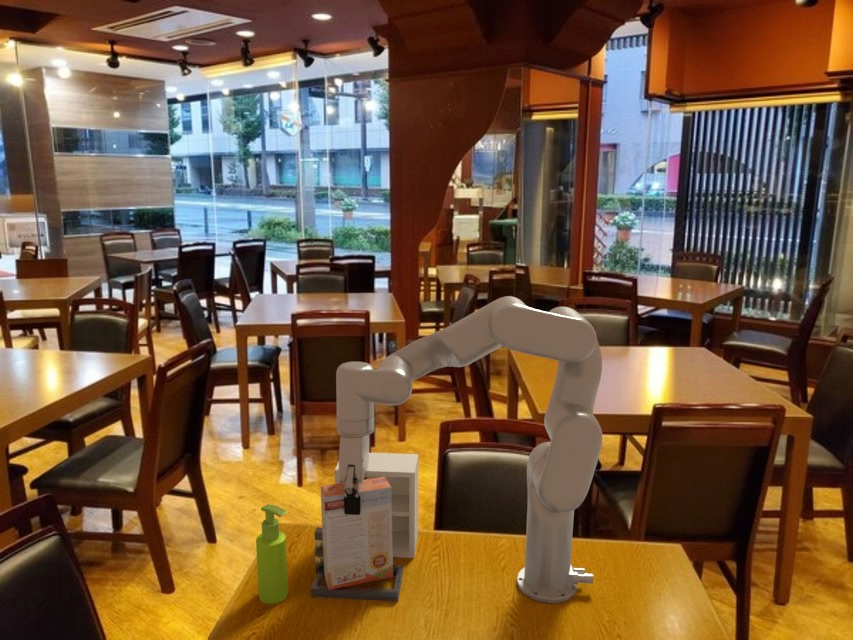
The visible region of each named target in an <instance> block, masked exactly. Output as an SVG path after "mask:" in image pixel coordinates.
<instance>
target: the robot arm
mask: <svg viewBox="0 0 853 640" xmlns="http://www.w3.org/2000/svg"><path fill="white" fill-rule="evenodd" d="M501 347H503V348H505V349H508V350H511V351H514V352H518V353H521V354H525V355H530V356H534V357H539V358H545V359H548V360H552V361H553V360H554V361H557V369H556V370H557V371H556V374H555V378H554V384H553V387H552V392H551V395H550V398H549V401H548V405H547V408H546V411H545V414H544V419H543V422H544V423H543V424H544V428H545V430H546V432H547V435H548V437H549V440H550V441H544V442H542V443H539V444H538V445H537V446H535V447H534V448H533V449H532V451H531V452H530V453H529V456H528V459H527V464H526V481H527V482H526V485H527V508H526V509H527V512H526V530H525V531H526V535H525V536H526V537H525V554H524V555H525V558H524V559H525V560H524V567H523V568H521V569H520V570H519V571H518V572H517V576H516V585H517V588H518V589H519V590H520V592H521V593H522V594H523V595H525V596H526V597H528V598H530V599H532V600H534V601H537V602H541V603H545V604H546V603H547V604H558V603H562V602H566V601H568V600H571V599H572V598H573V597H574V596H575V595H576V593H577V591H578V584H581V583H582V584H593V583H594V575H593V573H586V569H585V567H574V566H572V548H573V532H574V530H573V529H574V521H575V520H574V516H575V510H576V509H578V508H579V507H580V506H581V505H582V503H583V502H584V500H585V499H586V497H587V495H588V493H589V490H590V487H591V484H592V481H593V478H594V474H595V472H596V469H597V468H596V467H597V465H598V461H599V458H600V454H601V451H602V446H603V431H602V427H601V425H600V423H599V421H598V419H597V418H596V416H595V415H594V407H595V403H596V399H597V396H598V390H599V386H600V383H601V377H602V370H603V359H602V358H603V357H602V352H601V347H600V343H599V341H598V337H597V332H596V330H595V328H594V327H593V325H592V324H591V322H589V321H588V320H587V319H586V318H584V317H583V315H582V314H580V313H579V312H578V311H577V310H575V309H573V308H571V307H568V306H557V307H554V308H552V309H550V310H549V311H544V310H541V309H536V308H533V307H530V306H527V305H526V303H524V301H522V300H521V299H519V298H517V297H515V296H512V295H509V296H508V295H506V296H503V297H499V298H497V299H495V300H493V301H491V302H489V303H488V304H486V305H484V306H483V307H480V308H478V309H477V310H475V311H474V312H472V313H470V314H468V315H467V316H465V317H463V318H461V319H459V320H458V321H456V322H454V323H452V324H450V325H449V326H447V327H445V328H442V329H440V330H437V331H434V332H433V333H430V334H428V335H425V336H423V337H421V338H418V339H417V340H414V341H413V342H411V343H409V344H407V345H404V346H403V347H401V348H400V349H398V350H396V351H395V352H393V353H391V354H390V355H388V356H386V357H385V358H384V359H382V361H381V362H380V363H379V365H378V367H377V368H376V369H374V366H372V365H371V364H370V363H368V362H364V361H347V362H343V363H341V364H340V365H339V366H337V369H336V372H335V377H336V379H335V382H336V384H335V385H336V390H335V391H336V432H337V433H338V435H340V440H339V450H338V451H339V452H338V462H339V476H338V481H339V482H340V483H342V482H344V480H345V478H346V482H345V493H344V513H345V514H348V515H360V512H361V502H360V495H359V488H360V483H362V482H363V480H365V479H367V477H366V473H367V469H368V465H369V453H370V435H371V434H374V432H375V404H380V405H386V406H399V405H401V404H404V403H406V401H408V400H409V398H410V397H411V395H412V392H413V382H415V381H417V380H418V379H420V378H422V377H424V376H426V375H427V374H430V373H431V372H434V371H436V370H440V369H443V368H447V367H449V368H451V367H453V368H462V367H466V366H469V365H471V364H473V363H474V362H476V361H478V360H480V359H482V358H483V357H485V356H487V355H489V354H490V353H492V352H494V351H496V350H498V349H499V348H501ZM353 484H356V490H355V488H353Z"/></svg>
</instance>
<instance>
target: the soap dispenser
mask: <svg viewBox="0 0 853 640" xmlns="http://www.w3.org/2000/svg"><path fill="white" fill-rule="evenodd" d="M260 510H261V511H263V512H264V513H265V519H263V520H262V521H261V533H260V534H259V535H257V536H256V539H255V545H256V547H255V549H256V565H257V569H256V570H257V583H258V584H257V585H258V599H259V601H260V602H262V603H263V604H266V605H275V604H276V605H277V604H279V603H281V602H283V601H285V600H286V599H287V597H288V596H289V585H288V582H289V581H288V564H287V563H288V561H287V560H288V558H287V539H286V537H287V535H286V534H285V532H283V531H280V522H279V521H280V520H279V519H278V518H281V517H283V516H285V515H286V514H287V513H288V511H287V510H285V509H284V508H282V507H280V506H277V505H275V504H270V503H267V504H266V505H263V506H262V507H260ZM275 516H277V517H278V518H275Z"/></svg>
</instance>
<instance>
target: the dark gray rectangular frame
mask: <svg viewBox="0 0 853 640" xmlns="http://www.w3.org/2000/svg"><path fill="white" fill-rule="evenodd" d="M314 530H315V531H314V555H315V557H314V559H315V560H314V561H315V562H314V563H315V574H316V575H315V579H314V580H313V582H312V586H311V588H310V591H311V598H320V599H321V598H323V599H327V598H328V599H343V600H345V599H346V600H363V601H364V600H366V601H367V600H368V601H381V602H382V601H386V602H399V597H400V593H401V588H402V587H401V585H402V582H403V575H404V565H397V564H395V565H394V564H393V577H395V582H394V586H393V589H392V588H372V587H371V588H369V587H355V586H354V587H351V586H346V587H341V588H336V589H331V590H328V586H327V585H322V583H323V580H324V579H325V575H324V555H323V534H322V527H317V526H316V528H315V529H314Z"/></svg>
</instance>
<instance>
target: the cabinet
mask: <svg viewBox="0 0 853 640" xmlns="http://www.w3.org/2000/svg"><path fill="white" fill-rule="evenodd" d="M338 476H339V461H337V465H336V467H335V468H334V484H338V483H340V482H339V481H338ZM366 477H367V479H372V478H379V477H385V478H386V480H387V481H388V483H389V484H390V486H391V498H392V545H393V558H404V559H405V558H407V559H415V558H416V550H417V543H418V538H419V537H418V536H419V454H417V453H395V452H393V453H392V452H391V453H390V452H388V453H387V452H369V465H368V469H367V473H366ZM345 482H346V478H345V480H344V482H342V483H345Z"/></svg>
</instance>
